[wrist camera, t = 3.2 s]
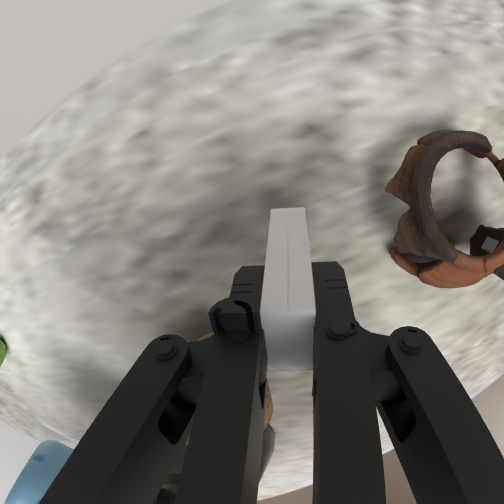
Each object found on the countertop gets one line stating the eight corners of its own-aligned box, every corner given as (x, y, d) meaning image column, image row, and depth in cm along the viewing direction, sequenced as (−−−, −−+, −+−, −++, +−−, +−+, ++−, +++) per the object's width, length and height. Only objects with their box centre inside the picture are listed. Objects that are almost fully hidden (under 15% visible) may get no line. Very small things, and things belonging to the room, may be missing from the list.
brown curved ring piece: (345, 248, 21) (371, 250, 13) (391, 132, 20) (429, 80, 12) (473, 312, 19) (536, 338, 11) (509, 204, 18) (573, 191, 10)
